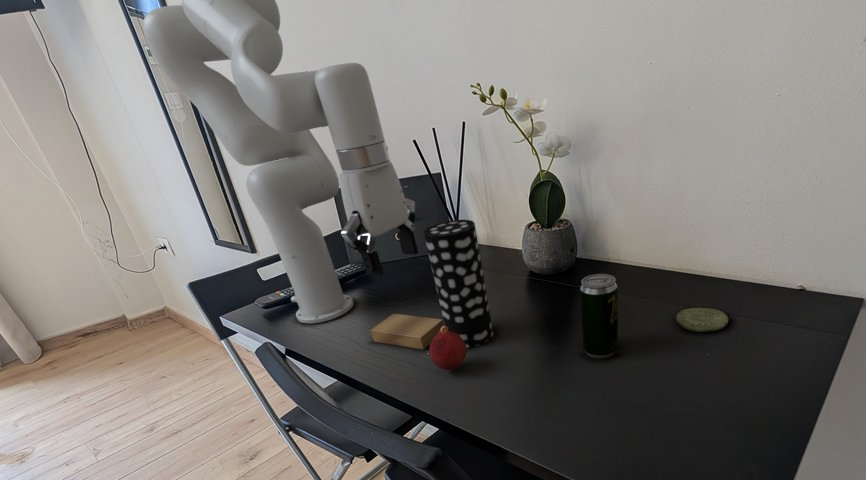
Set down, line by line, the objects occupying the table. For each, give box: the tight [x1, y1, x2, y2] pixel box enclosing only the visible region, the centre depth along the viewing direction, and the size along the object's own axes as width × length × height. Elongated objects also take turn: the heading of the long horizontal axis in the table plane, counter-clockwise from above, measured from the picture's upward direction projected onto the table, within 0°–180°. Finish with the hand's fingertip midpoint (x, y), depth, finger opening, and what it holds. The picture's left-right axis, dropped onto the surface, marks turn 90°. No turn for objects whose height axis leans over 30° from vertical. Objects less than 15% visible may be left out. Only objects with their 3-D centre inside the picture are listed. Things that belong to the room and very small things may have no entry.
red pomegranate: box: [429, 325, 468, 372], centre depth 74 cm, size 6×6×8 cm
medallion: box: [675, 307, 729, 333], centre depth 77 cm, size 8×8×1 cm
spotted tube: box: [423, 219, 494, 349], centre depth 80 cm, size 8×8×20 cm
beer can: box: [579, 273, 619, 359], centre depth 72 cm, size 5×5×12 cm
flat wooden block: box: [370, 313, 445, 351], centre depth 88 cm, size 12×7×2 cm, turn 61°
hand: (393, 263), depth 81 cm, fingers open, 9 cm apart
